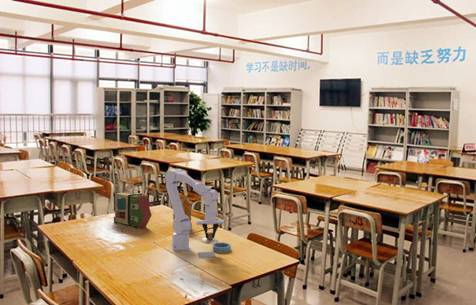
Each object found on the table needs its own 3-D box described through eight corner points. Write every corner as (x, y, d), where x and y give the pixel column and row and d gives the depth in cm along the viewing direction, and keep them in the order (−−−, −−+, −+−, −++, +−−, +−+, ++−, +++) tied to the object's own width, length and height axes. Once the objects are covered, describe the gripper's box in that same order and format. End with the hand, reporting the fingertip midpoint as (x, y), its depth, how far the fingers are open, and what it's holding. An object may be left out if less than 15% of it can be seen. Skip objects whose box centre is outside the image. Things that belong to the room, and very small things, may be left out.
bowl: (213, 253, 235) (213, 248, 234) (211, 247, 244) (211, 242, 244) (231, 253, 236) (231, 247, 236) (228, 247, 246) (228, 242, 245)
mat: (199, 258, 226) (199, 258, 226) (197, 253, 235) (197, 252, 235) (216, 258, 228) (216, 257, 227) (213, 252, 236) (213, 251, 236)
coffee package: (184, 224, 292) (185, 191, 290) (192, 228, 281) (193, 195, 279) (170, 225, 287) (171, 192, 284) (178, 230, 276) (179, 196, 274)
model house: (109, 192, 287) (141, 197, 270) (120, 190, 294) (151, 195, 277) (110, 223, 288) (141, 231, 271) (120, 221, 296) (151, 228, 279)
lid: (202, 244, 227) (202, 235, 226) (200, 239, 236) (200, 230, 235) (219, 243, 228) (219, 235, 228) (217, 238, 237) (217, 230, 237)
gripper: (197, 214, 225) (196, 240, 227) (225, 214, 228) (224, 239, 229) (196, 211, 232) (195, 236, 234) (223, 211, 235) (222, 235, 236)
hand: (209, 237), depth 232 cm, fingers closed on lid, 3 cm apart
